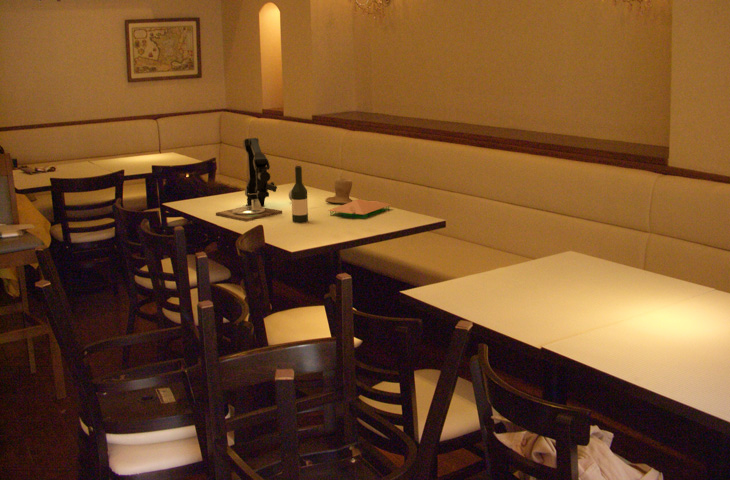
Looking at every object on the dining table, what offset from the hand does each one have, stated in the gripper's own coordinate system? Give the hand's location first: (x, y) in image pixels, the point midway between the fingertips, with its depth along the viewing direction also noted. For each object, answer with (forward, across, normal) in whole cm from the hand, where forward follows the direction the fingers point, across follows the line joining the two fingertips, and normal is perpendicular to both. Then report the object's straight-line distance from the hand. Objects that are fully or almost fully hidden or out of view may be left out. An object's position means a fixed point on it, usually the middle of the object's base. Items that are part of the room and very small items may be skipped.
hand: (262, 206), depth 415 cm
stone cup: (+4, +17, -48) cm, 51 cm away
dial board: (+4, 0, +8) cm, 9 cm away
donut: (+4, +26, -23) cm, 35 cm away
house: (+4, -14, -52) cm, 54 cm away
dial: (+2, 0, +8) cm, 8 cm away
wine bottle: (+4, -26, -18) cm, 32 cm away
